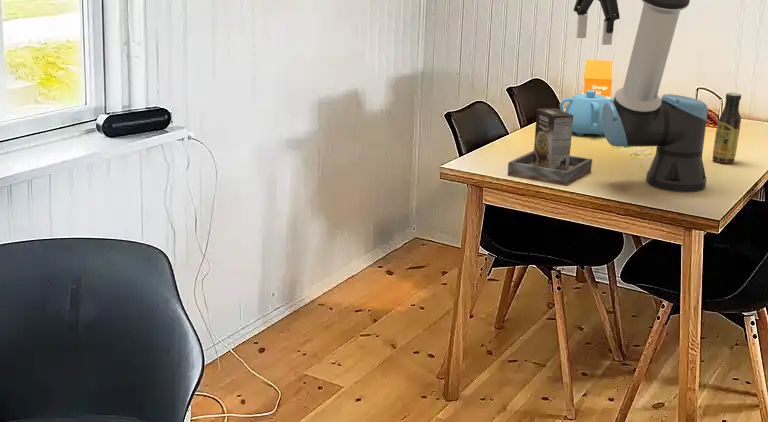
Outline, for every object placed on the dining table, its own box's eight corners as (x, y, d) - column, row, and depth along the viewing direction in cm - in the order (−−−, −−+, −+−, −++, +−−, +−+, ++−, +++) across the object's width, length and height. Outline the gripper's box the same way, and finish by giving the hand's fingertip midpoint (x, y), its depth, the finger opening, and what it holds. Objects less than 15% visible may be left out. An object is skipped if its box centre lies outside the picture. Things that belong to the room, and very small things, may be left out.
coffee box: (531, 166, 274) (535, 108, 269) (552, 164, 276) (556, 107, 271) (548, 175, 266) (552, 115, 261) (569, 173, 268) (574, 114, 263)
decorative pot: (584, 125, 330) (587, 84, 326) (623, 134, 318) (627, 91, 314) (551, 131, 320) (554, 89, 316) (590, 141, 309) (594, 97, 304)
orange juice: (580, 116, 343) (585, 57, 337) (606, 117, 342) (612, 59, 336) (581, 120, 336) (586, 61, 330) (608, 122, 335) (613, 62, 329)
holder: (591, 171, 274) (592, 159, 273) (566, 185, 260) (567, 172, 259) (534, 161, 283) (535, 149, 282) (507, 174, 269) (508, 162, 268)
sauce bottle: (707, 159, 289) (715, 92, 283) (724, 158, 291) (733, 90, 285) (722, 165, 283) (731, 96, 277) (740, 163, 286) (749, 95, 280)
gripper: (637, -33, 267) (629, 47, 274) (588, -39, 290) (582, 34, 296) (613, -33, 265) (606, 48, 271) (565, -39, 287) (559, 35, 294)
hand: (593, 41), depth 284 cm, fingers open, 13 cm apart
